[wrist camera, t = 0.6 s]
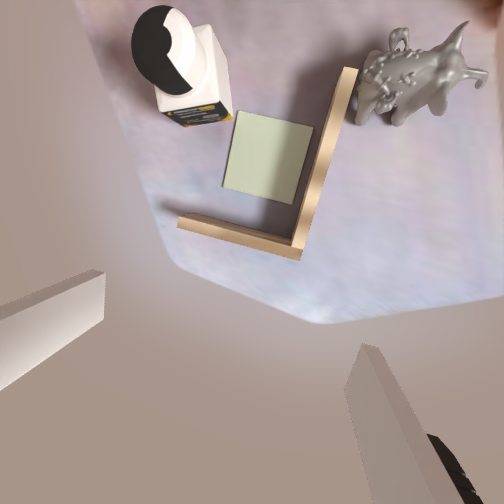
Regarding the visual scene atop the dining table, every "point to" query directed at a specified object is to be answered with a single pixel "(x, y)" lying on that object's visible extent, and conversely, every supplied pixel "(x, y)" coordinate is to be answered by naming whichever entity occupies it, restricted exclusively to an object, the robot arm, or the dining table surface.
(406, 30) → the elephant statuette
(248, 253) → the dining table surface
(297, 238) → the corner arena
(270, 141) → the pad
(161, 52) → the medicine bottle
